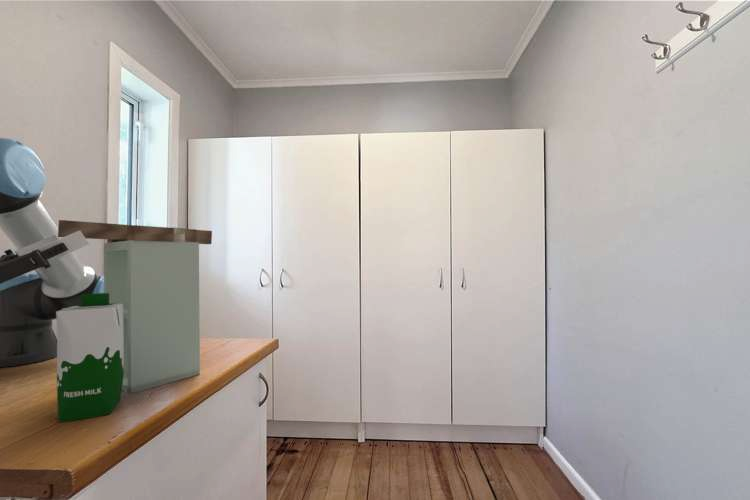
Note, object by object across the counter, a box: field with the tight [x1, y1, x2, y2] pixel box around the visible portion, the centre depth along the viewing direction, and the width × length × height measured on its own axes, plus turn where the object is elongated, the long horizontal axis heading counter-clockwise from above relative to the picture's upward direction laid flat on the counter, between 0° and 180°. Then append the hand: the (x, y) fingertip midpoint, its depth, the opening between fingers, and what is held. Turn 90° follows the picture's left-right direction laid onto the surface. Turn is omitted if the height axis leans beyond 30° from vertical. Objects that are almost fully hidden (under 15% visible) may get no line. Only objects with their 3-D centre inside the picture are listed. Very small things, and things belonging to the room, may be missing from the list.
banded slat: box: [127, 224, 197, 242], centre depth 78 cm, size 13×3×3 cm, turn 149°
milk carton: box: [56, 293, 124, 423], centre depth 63 cm, size 9×9×20 cm
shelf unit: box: [103, 240, 201, 395], centre depth 80 cm, size 14×13×30 cm
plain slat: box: [57, 219, 213, 245], centre depth 80 cm, size 28×3×3 cm, turn 130°
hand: (71, 239), depth 68 cm, fingers open, 13 cm apart
